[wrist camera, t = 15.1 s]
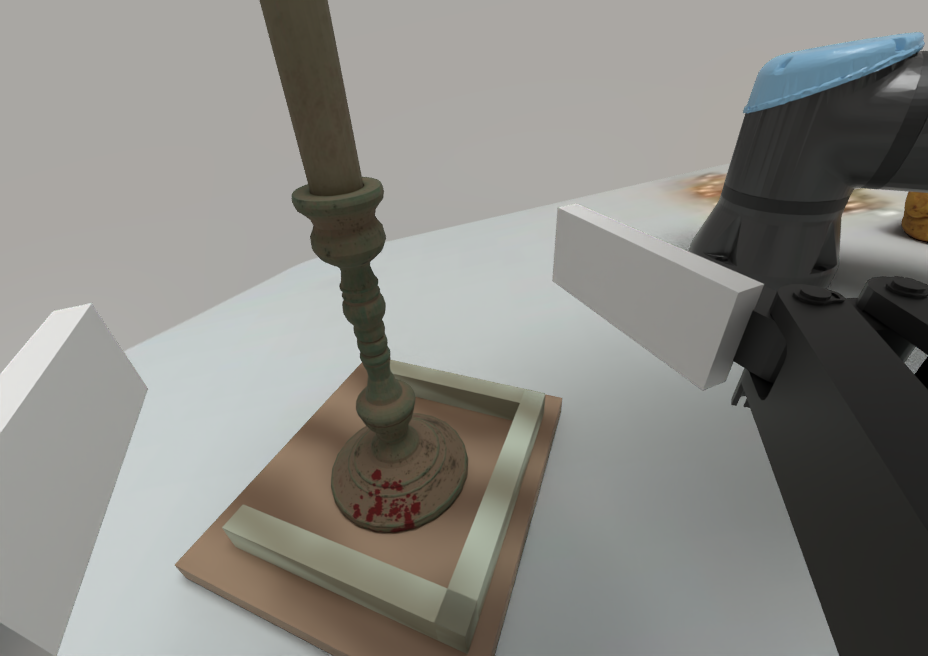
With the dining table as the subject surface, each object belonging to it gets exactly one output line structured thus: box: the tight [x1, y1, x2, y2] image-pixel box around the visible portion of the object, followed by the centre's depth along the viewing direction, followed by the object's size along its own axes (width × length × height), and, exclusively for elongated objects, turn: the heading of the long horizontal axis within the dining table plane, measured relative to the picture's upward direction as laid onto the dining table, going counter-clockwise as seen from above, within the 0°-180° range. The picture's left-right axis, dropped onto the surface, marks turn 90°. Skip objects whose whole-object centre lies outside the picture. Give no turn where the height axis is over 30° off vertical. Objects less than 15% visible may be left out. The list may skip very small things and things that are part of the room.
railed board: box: [175, 360, 562, 656], centre depth 27 cm, size 20×18×4 cm
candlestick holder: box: [260, 0, 468, 532], centre depth 19 cm, size 9×9×30 cm
